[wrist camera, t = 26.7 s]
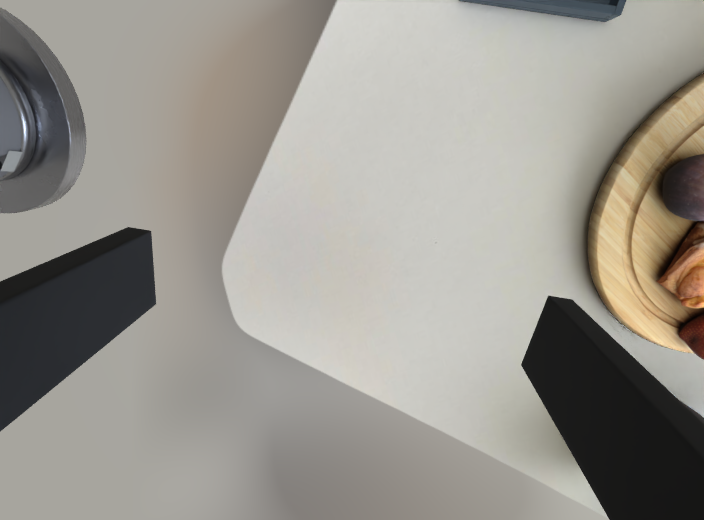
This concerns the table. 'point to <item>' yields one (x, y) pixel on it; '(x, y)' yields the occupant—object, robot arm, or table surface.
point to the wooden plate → (655, 226)
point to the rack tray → (564, 7)
